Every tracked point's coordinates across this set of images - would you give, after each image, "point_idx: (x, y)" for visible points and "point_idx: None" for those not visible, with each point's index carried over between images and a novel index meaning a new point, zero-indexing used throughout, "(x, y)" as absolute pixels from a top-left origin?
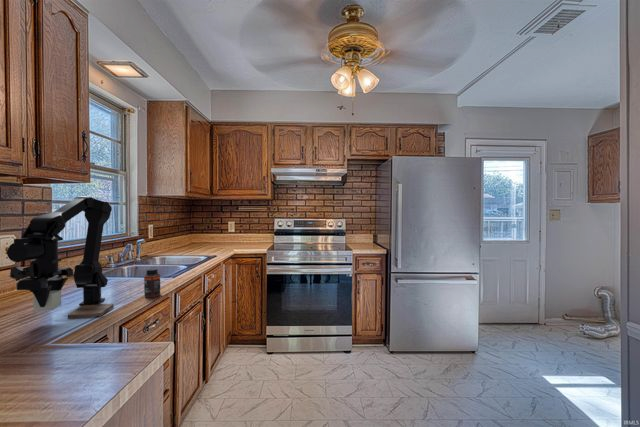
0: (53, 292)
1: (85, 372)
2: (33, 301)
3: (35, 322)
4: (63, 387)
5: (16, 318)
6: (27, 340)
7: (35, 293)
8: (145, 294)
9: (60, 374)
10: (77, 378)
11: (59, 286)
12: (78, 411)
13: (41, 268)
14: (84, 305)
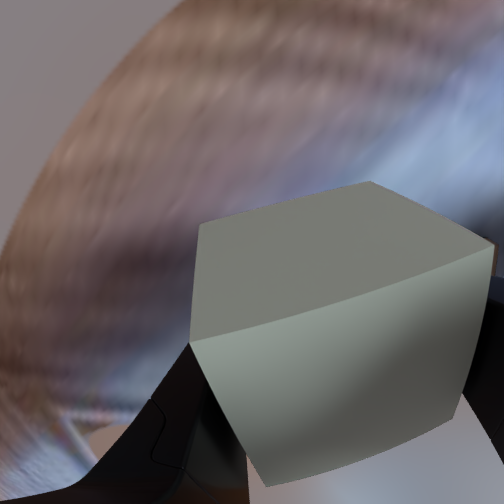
0: (372, 439)
1: None
2: (196, 274)
3: (279, 127)
4: (9, 485)
5: None
6: (45, 331)
7: (119, 478)
8: None
9: (18, 477)
10: (29, 492)
11: (494, 427)
12: (6, 499)
13: None
14: (494, 255)
